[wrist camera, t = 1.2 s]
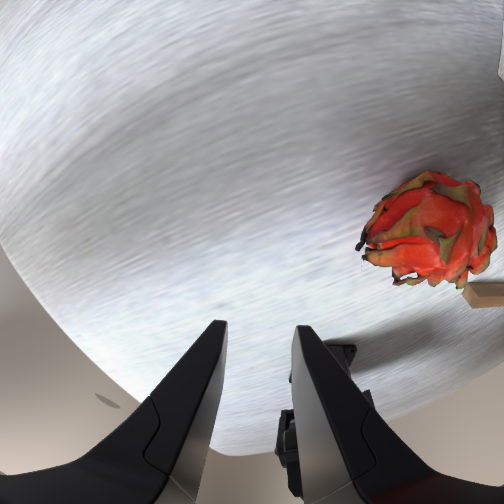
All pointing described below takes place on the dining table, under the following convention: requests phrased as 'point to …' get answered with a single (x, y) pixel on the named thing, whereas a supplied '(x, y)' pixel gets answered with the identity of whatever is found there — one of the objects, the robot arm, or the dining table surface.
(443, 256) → the dragon fruit
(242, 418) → the dining table surface
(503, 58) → the light bulb box
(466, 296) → the frame
